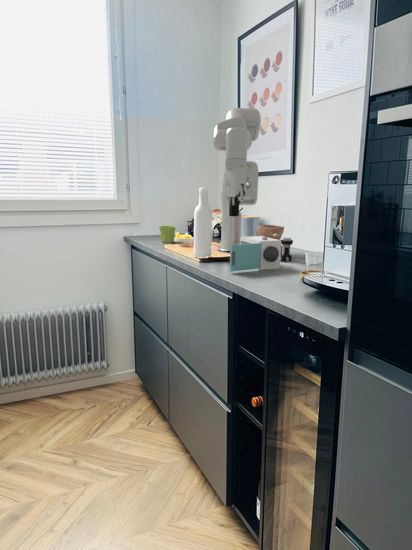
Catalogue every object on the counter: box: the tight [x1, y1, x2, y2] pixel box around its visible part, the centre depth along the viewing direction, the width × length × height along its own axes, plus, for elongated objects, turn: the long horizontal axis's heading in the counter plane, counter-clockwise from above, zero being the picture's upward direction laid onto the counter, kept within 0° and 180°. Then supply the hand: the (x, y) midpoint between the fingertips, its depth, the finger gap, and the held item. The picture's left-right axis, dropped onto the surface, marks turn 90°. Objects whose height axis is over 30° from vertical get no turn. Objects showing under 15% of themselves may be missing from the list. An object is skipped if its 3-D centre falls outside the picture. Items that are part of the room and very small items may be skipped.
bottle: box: [192, 187, 213, 257], centre depth 179 cm, size 8×8×30 cm
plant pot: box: [158, 225, 177, 244], centre depth 225 cm, size 9×9×9 cm
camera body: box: [240, 235, 282, 271], centre depth 163 cm, size 16×10×12 cm, turn 26°
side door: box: [229, 243, 261, 272], centre depth 152 cm, size 14×1×10 cm, turn 121°
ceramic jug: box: [256, 224, 285, 255], centre depth 185 cm, size 18×14×14 cm
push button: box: [280, 237, 294, 263], centre depth 175 cm, size 7×5×10 cm
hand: (233, 216), depth 151 cm, fingers closed
